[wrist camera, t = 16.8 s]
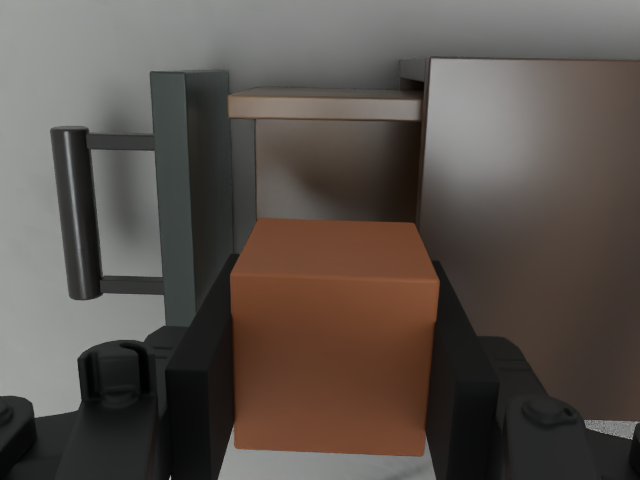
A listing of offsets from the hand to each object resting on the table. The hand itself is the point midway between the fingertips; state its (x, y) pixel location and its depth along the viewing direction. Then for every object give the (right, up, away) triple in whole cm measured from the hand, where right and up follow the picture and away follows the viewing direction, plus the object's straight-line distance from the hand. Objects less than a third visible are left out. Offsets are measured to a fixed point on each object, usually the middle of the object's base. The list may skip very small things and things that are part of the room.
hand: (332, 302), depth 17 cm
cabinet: (+11, +4, +12) cm, 16 cm away
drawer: (-1, +4, +12) cm, 12 cm away
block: (0, 0, 0) cm, 0 cm away
